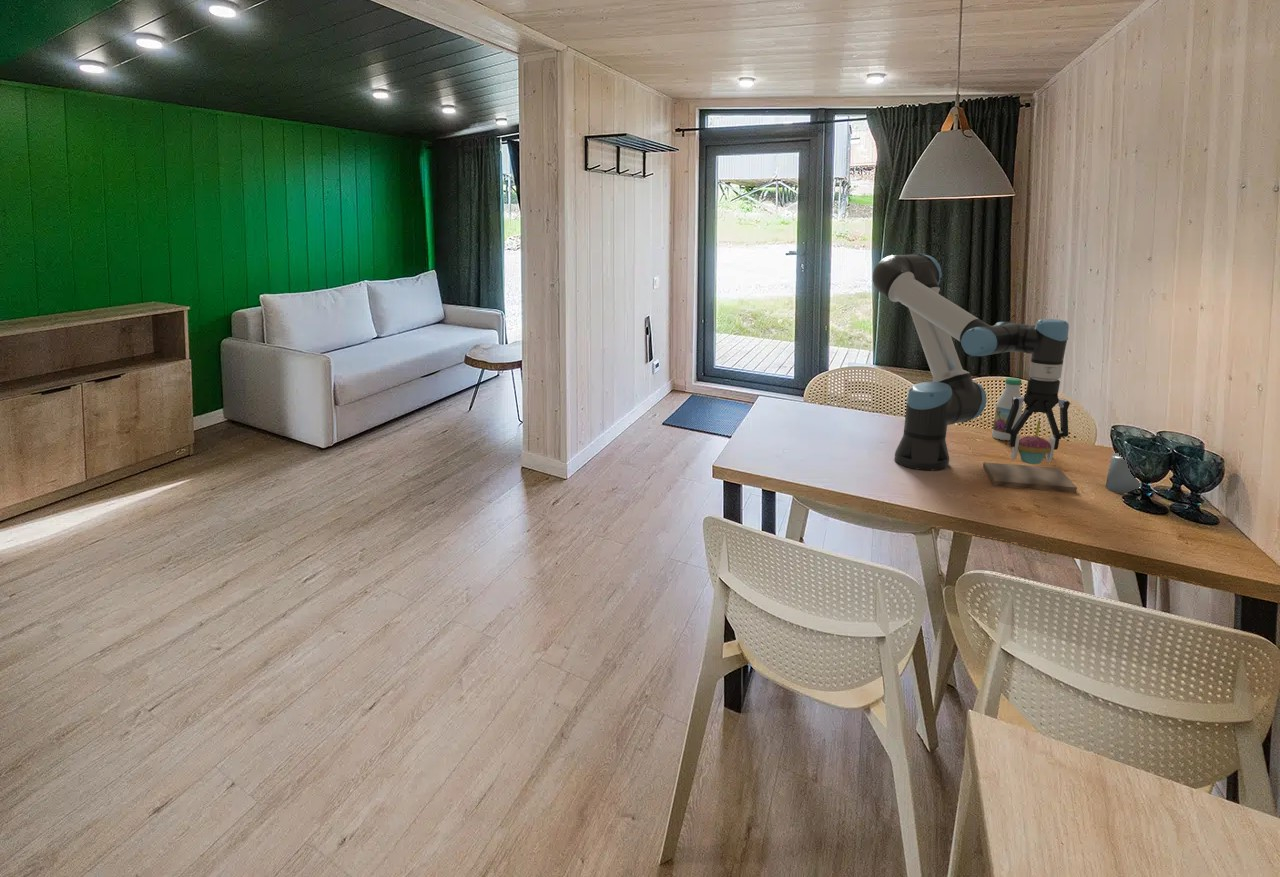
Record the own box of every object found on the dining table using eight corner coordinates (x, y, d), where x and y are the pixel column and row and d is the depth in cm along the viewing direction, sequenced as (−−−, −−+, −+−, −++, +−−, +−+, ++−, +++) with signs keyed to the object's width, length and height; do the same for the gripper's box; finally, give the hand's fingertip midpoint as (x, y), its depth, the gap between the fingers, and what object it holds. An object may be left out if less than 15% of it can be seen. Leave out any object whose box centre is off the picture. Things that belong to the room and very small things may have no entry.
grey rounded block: (1111, 493, 190) (1118, 461, 188) (1101, 483, 198) (1107, 452, 195) (1145, 496, 189) (1153, 463, 186) (1133, 485, 196) (1140, 454, 193)
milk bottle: (1012, 435, 242) (1021, 376, 236) (1021, 441, 234) (1031, 381, 228) (988, 434, 242) (996, 376, 236) (996, 441, 235) (1005, 381, 229)
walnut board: (994, 486, 196) (995, 480, 195) (982, 467, 210) (983, 462, 210) (1076, 492, 191) (1077, 487, 190) (1058, 472, 206) (1059, 468, 205)
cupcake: (1018, 454, 205) (1024, 414, 201) (1051, 460, 199) (1059, 419, 196) (1010, 462, 198) (1017, 420, 195) (1045, 468, 193) (1052, 425, 190)
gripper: (1004, 379, 191) (992, 460, 198) (1092, 383, 186) (1077, 466, 193) (998, 373, 198) (987, 452, 205) (1083, 377, 193) (1069, 457, 200)
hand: (1031, 458), depth 199 cm, fingers closed on cupcake, 8 cm apart
